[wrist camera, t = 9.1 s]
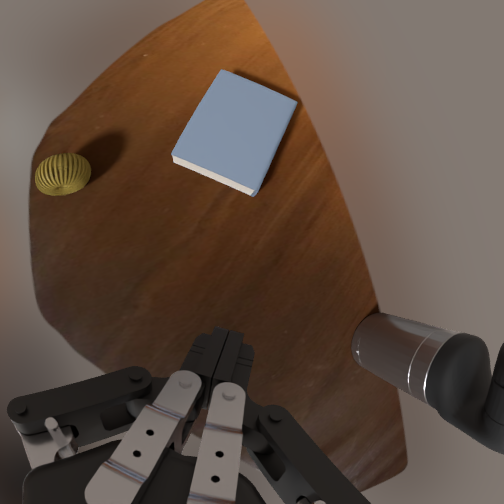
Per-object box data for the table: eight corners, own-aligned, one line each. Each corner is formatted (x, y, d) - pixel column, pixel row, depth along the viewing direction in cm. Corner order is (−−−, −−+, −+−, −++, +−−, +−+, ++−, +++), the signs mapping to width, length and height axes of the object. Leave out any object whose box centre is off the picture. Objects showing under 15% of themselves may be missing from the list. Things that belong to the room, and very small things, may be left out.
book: (173, 162, 38) (219, 81, 40) (253, 197, 40) (290, 112, 41) (171, 153, 35) (221, 69, 36) (258, 191, 37) (297, 102, 38)
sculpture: (97, 162, 36) (77, 141, 28) (99, 188, 36) (79, 172, 28) (50, 176, 34) (24, 161, 27) (51, 203, 34) (24, 191, 27)
